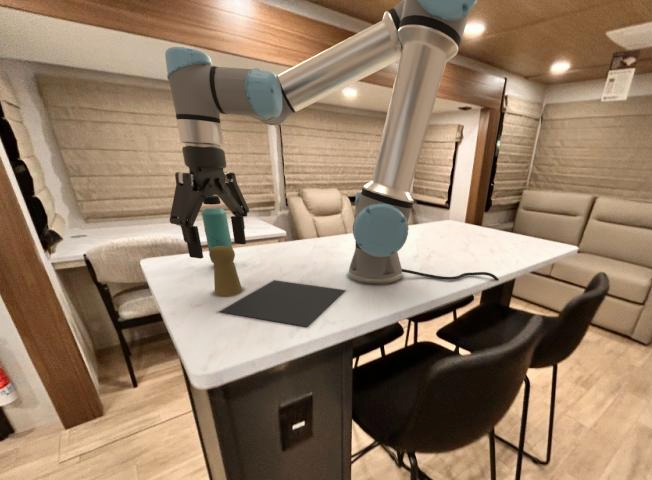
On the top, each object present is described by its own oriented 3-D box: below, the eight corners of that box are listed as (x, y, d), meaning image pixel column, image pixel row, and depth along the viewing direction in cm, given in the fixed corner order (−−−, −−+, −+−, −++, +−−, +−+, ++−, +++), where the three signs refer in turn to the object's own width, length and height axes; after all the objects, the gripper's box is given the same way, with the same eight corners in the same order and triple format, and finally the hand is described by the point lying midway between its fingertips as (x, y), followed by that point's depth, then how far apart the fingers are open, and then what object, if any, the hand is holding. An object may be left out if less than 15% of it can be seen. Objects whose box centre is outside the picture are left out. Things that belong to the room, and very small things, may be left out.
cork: (224, 298, 71) (216, 251, 66) (209, 292, 74) (200, 247, 69) (247, 290, 75) (241, 246, 71) (232, 285, 78) (225, 242, 74)
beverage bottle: (239, 263, 95) (229, 195, 87) (227, 270, 89) (215, 197, 81) (219, 261, 95) (207, 193, 87) (206, 268, 89) (191, 196, 81)
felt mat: (344, 290, 78) (344, 290, 78) (306, 327, 60) (306, 326, 60) (274, 281, 82) (274, 280, 82) (219, 312, 64) (219, 311, 64)
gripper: (230, 149, 74) (242, 237, 82) (126, 140, 52) (157, 262, 60) (258, 150, 72) (267, 240, 81) (162, 142, 50) (189, 267, 58)
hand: (220, 250), depth 70 cm, fingers open, 13 cm apart
